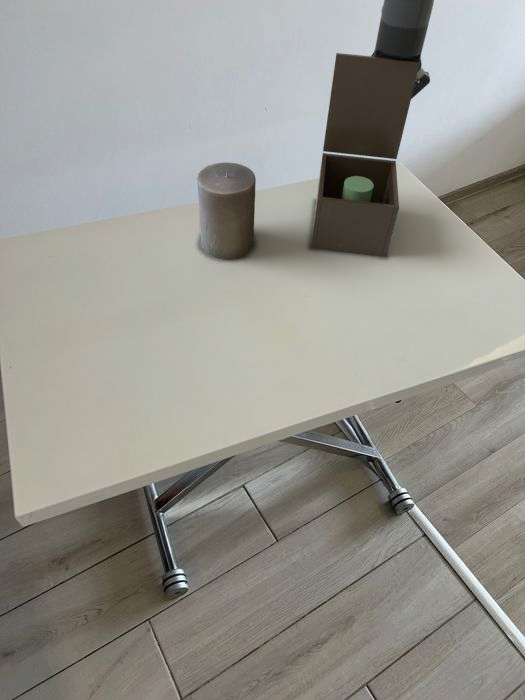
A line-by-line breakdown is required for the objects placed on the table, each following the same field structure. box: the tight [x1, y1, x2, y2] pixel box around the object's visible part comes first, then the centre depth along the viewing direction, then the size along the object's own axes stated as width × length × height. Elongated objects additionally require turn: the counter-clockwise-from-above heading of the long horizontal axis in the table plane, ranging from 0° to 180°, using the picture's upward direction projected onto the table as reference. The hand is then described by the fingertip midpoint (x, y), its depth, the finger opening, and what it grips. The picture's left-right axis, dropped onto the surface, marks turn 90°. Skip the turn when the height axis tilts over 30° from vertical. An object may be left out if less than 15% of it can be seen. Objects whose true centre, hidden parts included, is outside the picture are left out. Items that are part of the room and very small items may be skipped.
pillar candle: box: [196, 162, 257, 261], centre depth 91 cm, size 10×10×15 cm
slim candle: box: [342, 176, 374, 202], centre depth 98 cm, size 5×5×9 cm
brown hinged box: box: [310, 152, 400, 258], centre depth 97 cm, size 16×14×11 cm
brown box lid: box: [322, 52, 420, 160], centre depth 92 cm, size 16×14×1 cm
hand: (381, 125), depth 96 cm, fingers closed
